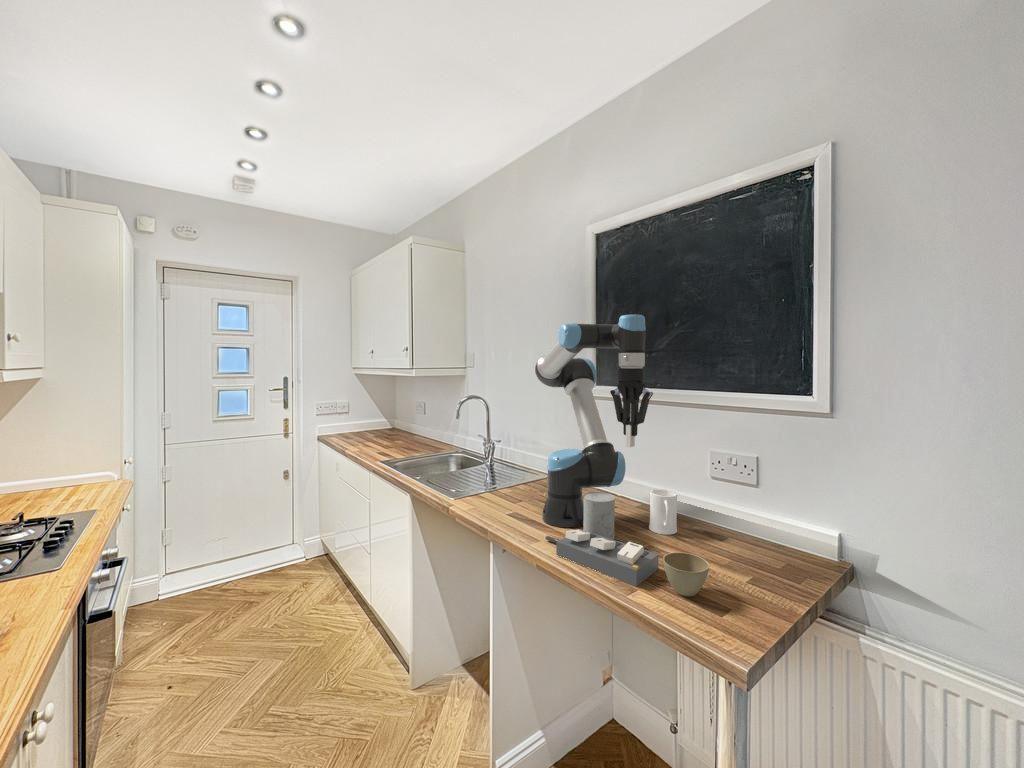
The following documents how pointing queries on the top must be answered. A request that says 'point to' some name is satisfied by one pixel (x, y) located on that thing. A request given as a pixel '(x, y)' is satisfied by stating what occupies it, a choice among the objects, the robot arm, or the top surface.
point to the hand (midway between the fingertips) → (630, 446)
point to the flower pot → (685, 572)
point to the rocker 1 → (577, 535)
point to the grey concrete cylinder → (599, 514)
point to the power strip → (607, 559)
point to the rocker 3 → (630, 553)
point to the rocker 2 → (602, 543)
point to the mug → (663, 511)
